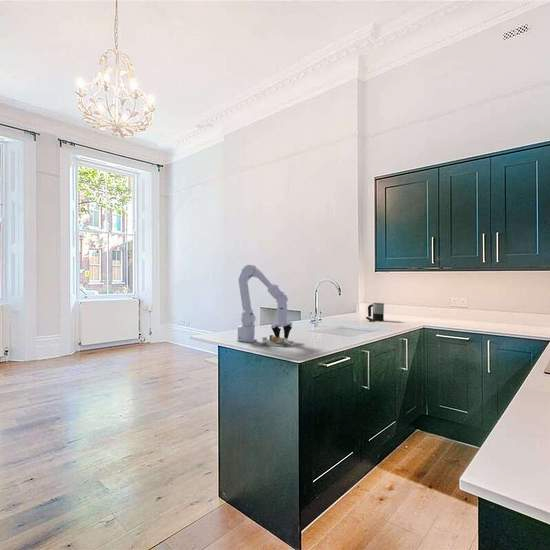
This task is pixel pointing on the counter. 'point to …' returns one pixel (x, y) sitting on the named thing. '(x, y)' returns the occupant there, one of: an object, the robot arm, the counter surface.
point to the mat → (276, 344)
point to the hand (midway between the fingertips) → (281, 339)
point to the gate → (276, 339)
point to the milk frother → (376, 312)
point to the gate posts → (266, 341)
